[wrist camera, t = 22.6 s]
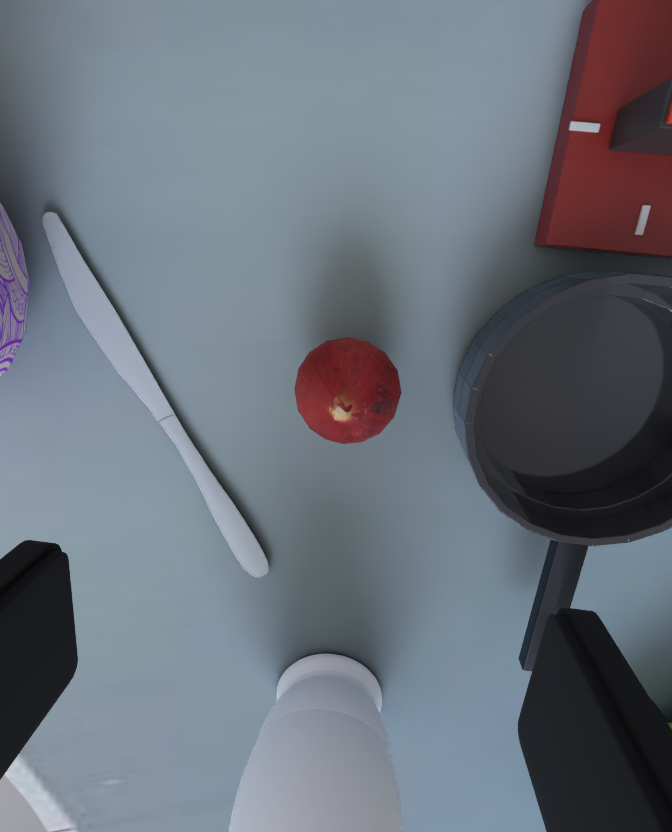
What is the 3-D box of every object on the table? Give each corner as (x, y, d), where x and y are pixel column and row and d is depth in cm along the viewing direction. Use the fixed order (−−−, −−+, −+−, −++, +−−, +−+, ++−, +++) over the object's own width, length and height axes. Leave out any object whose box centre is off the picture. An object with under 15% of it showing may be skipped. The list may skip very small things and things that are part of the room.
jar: (288, 621, 37) (235, 851, 23) (416, 666, 37) (442, 918, 23) (249, 718, 40) (181, 971, 26) (366, 758, 41) (362, 1028, 26)
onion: (407, 341, 30) (419, 370, 22) (384, 428, 32) (387, 482, 24) (314, 319, 30) (294, 341, 22) (296, 407, 32) (272, 455, 24)
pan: (477, 258, 28) (495, 259, 24) (745, 285, 27) (814, 290, 23) (435, 493, 33) (444, 528, 28) (664, 520, 32) (708, 560, 28)
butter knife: (238, 586, 35) (274, 574, 35) (22, 226, 29) (60, 202, 28) (241, 580, 36) (276, 569, 35) (29, 226, 29) (67, 203, 29)
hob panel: (580, 9, 24) (600, -13, 22) (773, 25, 24) (810, 3, 22) (531, 245, 28) (544, 244, 25) (698, 261, 27) (725, 262, 25)
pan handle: (553, 526, 29) (559, 536, 28) (583, 530, 29) (591, 539, 28) (518, 658, 32) (522, 670, 31) (545, 662, 32) (550, 674, 31)
